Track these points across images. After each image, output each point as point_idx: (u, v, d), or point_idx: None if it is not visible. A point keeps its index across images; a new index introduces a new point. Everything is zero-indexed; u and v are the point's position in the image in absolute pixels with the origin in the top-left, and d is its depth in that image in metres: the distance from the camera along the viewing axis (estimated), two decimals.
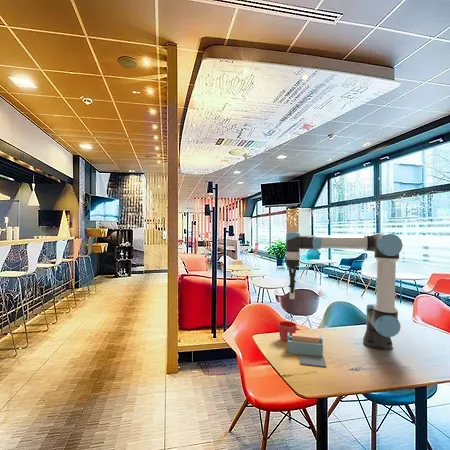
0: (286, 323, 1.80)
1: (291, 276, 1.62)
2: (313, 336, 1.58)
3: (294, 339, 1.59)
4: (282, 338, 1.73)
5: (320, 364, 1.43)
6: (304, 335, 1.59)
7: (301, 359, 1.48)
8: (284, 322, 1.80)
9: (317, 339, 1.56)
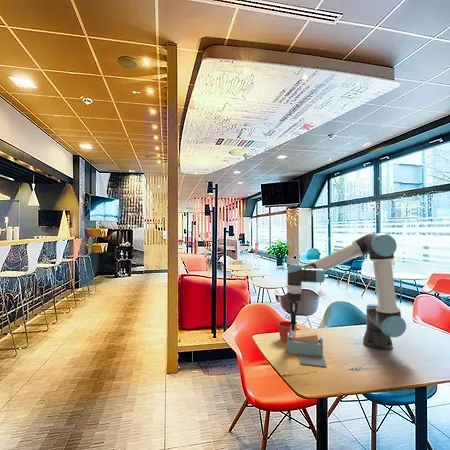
0: (286, 323, 1.80)
1: (292, 315, 1.56)
2: (311, 334, 1.58)
3: None
4: (282, 338, 1.73)
5: (320, 364, 1.43)
6: (302, 335, 1.60)
7: (301, 359, 1.48)
8: (284, 322, 1.80)
9: (315, 336, 1.56)
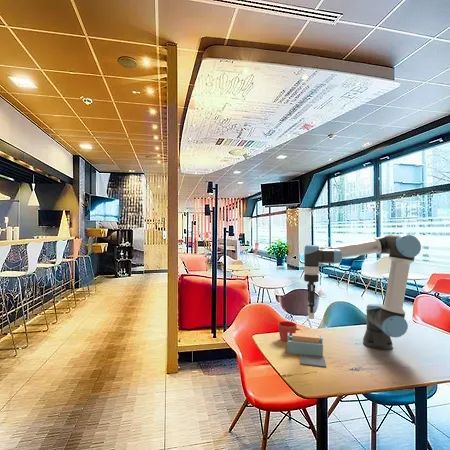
0: (286, 323, 1.80)
1: (311, 295, 1.52)
2: (313, 336, 1.58)
3: (294, 339, 1.59)
4: (282, 338, 1.73)
5: (320, 364, 1.43)
6: (304, 335, 1.59)
7: (301, 359, 1.48)
8: (284, 322, 1.80)
9: (317, 339, 1.56)
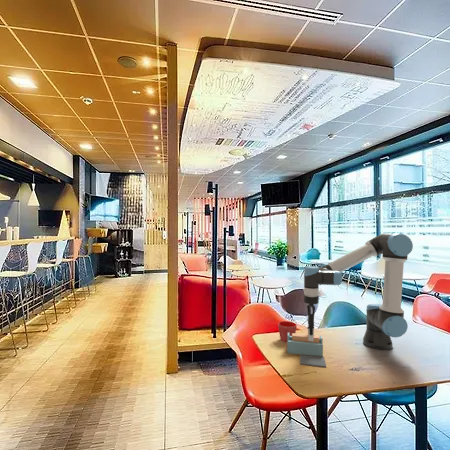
0: (286, 323, 1.80)
1: (310, 318, 1.53)
2: None
3: (294, 339, 1.59)
4: (282, 338, 1.73)
5: (320, 364, 1.43)
6: (304, 335, 1.59)
7: (301, 359, 1.48)
8: (284, 322, 1.80)
9: (317, 339, 1.56)
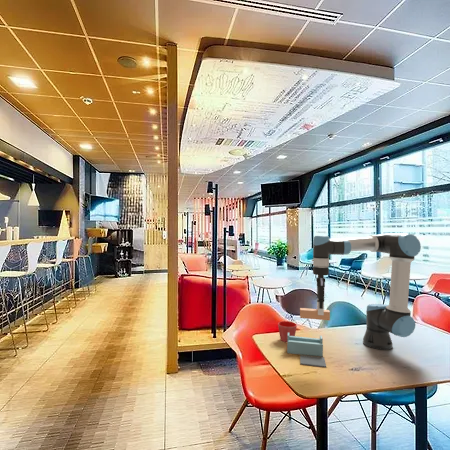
0: (286, 323, 1.80)
1: (320, 290, 1.41)
2: None
3: (302, 314, 1.47)
4: (282, 338, 1.73)
5: (320, 364, 1.43)
6: (313, 309, 1.48)
7: (301, 359, 1.48)
8: (284, 322, 1.80)
9: (327, 313, 1.44)
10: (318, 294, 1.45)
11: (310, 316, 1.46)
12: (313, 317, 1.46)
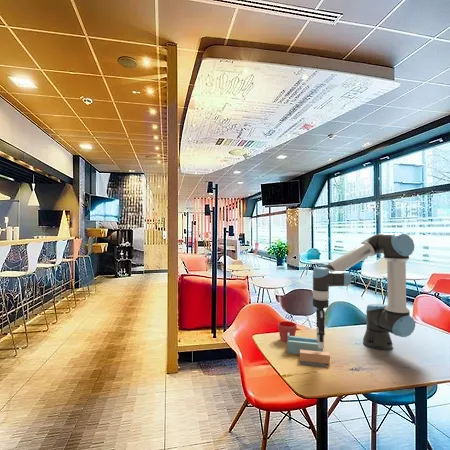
0: (286, 323, 1.80)
1: (320, 322, 1.40)
2: (322, 353, 1.46)
3: (302, 356, 1.46)
4: (282, 338, 1.73)
5: (320, 364, 1.43)
6: (313, 352, 1.47)
7: None
8: (284, 322, 1.80)
9: (327, 356, 1.44)
10: (318, 327, 1.43)
11: (310, 359, 1.45)
12: (313, 360, 1.45)
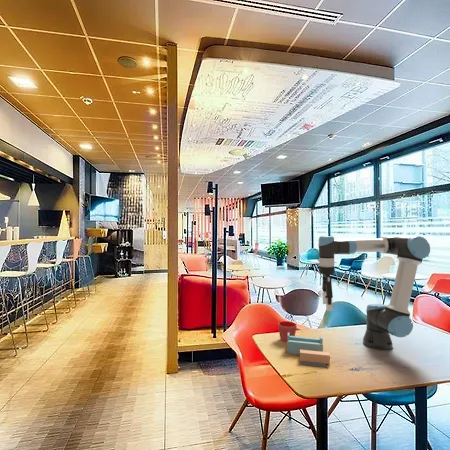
0: (286, 323, 1.80)
1: (328, 286, 1.45)
2: (322, 353, 1.46)
3: (302, 356, 1.46)
4: (282, 338, 1.73)
5: (320, 364, 1.43)
6: (313, 352, 1.47)
7: None
8: (284, 322, 1.80)
9: (327, 356, 1.44)
10: (326, 291, 1.47)
11: (310, 359, 1.45)
12: (313, 360, 1.45)
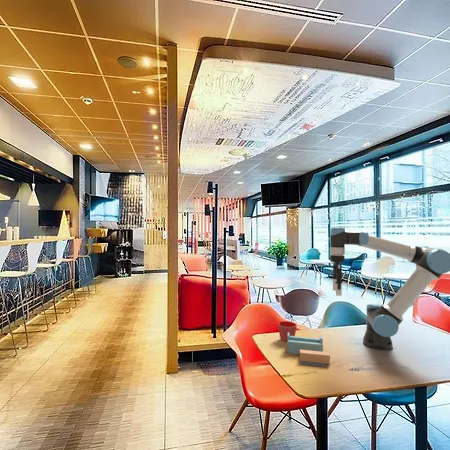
0: (286, 323, 1.80)
1: (338, 272, 1.58)
2: (322, 353, 1.46)
3: (302, 356, 1.46)
4: (282, 338, 1.73)
5: (320, 364, 1.43)
6: (313, 352, 1.47)
7: None
8: (284, 322, 1.80)
9: (327, 356, 1.44)
10: (336, 277, 1.60)
11: (310, 359, 1.45)
12: (313, 360, 1.45)
